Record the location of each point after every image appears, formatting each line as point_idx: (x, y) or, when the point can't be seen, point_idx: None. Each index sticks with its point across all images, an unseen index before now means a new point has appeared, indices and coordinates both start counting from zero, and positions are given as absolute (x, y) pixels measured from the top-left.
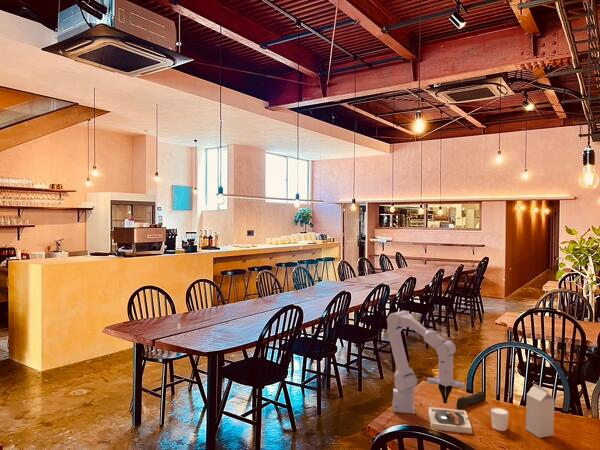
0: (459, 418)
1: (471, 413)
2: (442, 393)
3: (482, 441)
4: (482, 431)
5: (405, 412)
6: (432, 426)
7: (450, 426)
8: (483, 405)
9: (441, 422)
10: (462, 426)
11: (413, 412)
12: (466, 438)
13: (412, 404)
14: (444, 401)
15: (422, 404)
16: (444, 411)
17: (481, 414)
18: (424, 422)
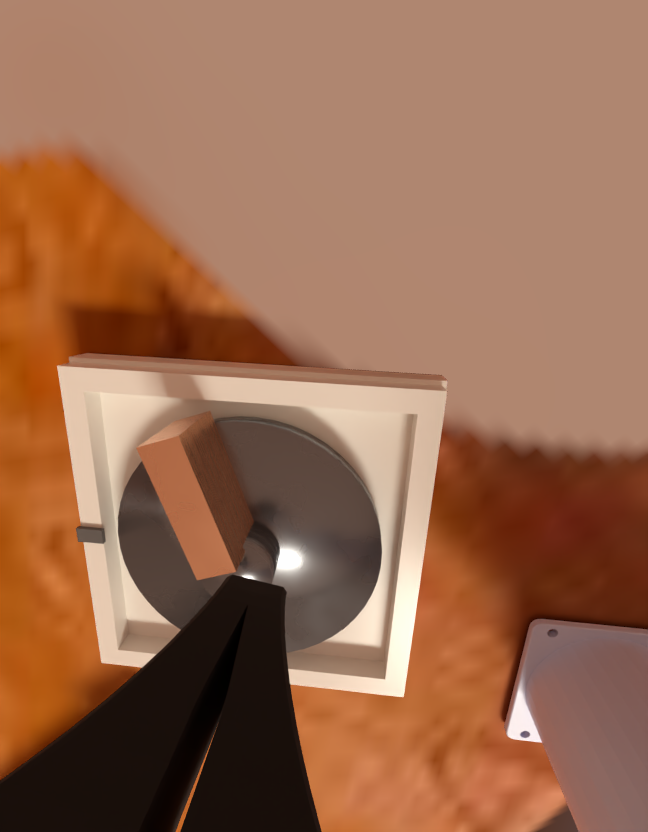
0: (158, 529)
1: (83, 661)
2: (266, 805)
3: (4, 220)
4: (7, 406)
5: (616, 628)
6: (434, 379)
7: (257, 377)
8: (7, 761)
9: (334, 451)
10: (140, 382)
11: (546, 629)
12: (138, 250)
13: (576, 712)
14: (259, 604)
15: (426, 755)
16: None
17: (17, 654)
18: (476, 490)
